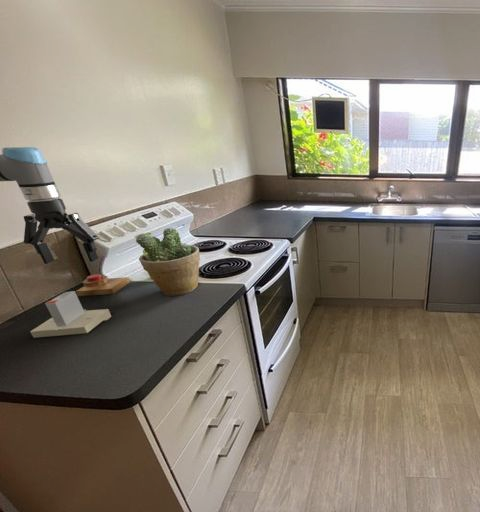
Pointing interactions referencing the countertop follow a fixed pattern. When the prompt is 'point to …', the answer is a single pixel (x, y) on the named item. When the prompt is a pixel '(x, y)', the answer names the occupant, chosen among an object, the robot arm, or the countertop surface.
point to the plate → (72, 324)
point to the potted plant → (170, 262)
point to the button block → (102, 286)
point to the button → (94, 277)
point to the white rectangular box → (65, 308)
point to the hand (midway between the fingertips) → (72, 261)
